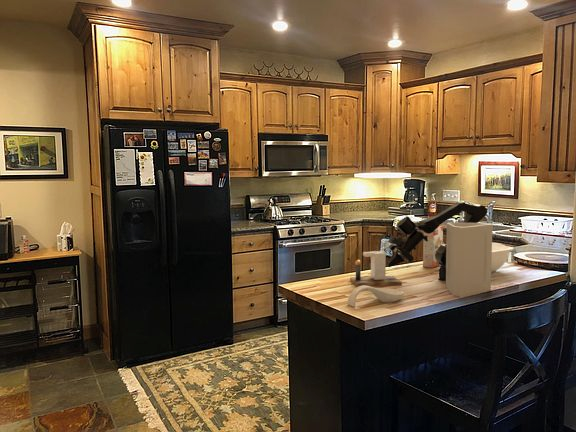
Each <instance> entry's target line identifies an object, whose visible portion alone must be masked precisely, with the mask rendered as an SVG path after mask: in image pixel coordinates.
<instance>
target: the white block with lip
mask: <svg viewBox="0 0 576 432" xmlns="http://www.w3.org/2000/svg"><path fill="white" fill-rule="evenodd" d="M386 255H387V254H386V252H384V251H382V250H374V251H373V250H372V251H371V250H370V251H363V252H362V256H364V257H365V258H368V257H370V277H371V278H373V279H374V280H385V276H386V268H387V267H386V266H387V265H386V264H387V263H386V260H387V258H386Z"/></svg>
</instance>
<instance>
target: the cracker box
mask: <svg viewBox="0 0 576 432" xmlns="http://www.w3.org/2000/svg"><path fill="white" fill-rule="evenodd" d="M423 234H424V235H427V236H428V237H427V239H428V242H426V241H424V240H423V241H422V242H423V248H422V249H423V250H422V267H423V268H430V269H434V268H435V267H438V266H440V265H439V263H438V261H437V260H436V259H435V254H436V252H435V251H436V250H438V248H439V247H438V246H439V245H443V243H444V242H443V240H444V239H443V238H444V236H443V235H444V226H443V225H439V227H438V228H437V229H436V230H435V231H434V232H432V233H430V234H428V233H424V232H423Z"/></svg>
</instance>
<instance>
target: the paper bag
mask: <svg viewBox="0 0 576 432" xmlns="http://www.w3.org/2000/svg"><path fill="white" fill-rule="evenodd" d="M492 243H493V223H488V222H487V223H485V222H483V223H482V222H478V223H463V222H447V223H446V244H447V247H446V281H445V288H446V289H447V290H448V292H450V294H451V295H453V296H454V297H455V296H456V297H460V298H465V297H469V296H472V295H478V294H481V293H487V292H490V291H492V272H491V263H492Z"/></svg>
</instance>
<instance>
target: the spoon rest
mask: <svg viewBox="0 0 576 432" xmlns="http://www.w3.org/2000/svg"><path fill="white" fill-rule="evenodd" d="M363 291H369V292H370V293H372V294H373V295H374V297H376V299H377V300H379V301H380V302H382V303H395V302H397V301H399V300H401V298H403V296H404V295H405V292H404V291H402V290H398V289H395V288H385V287H374V286H366V285H363V286H359V287H356V288H354V289H353V290H352V291H351V292H350V294H349V295H348V298H347V303H346V304H347V306H351V308H355V307H356V303H357V301H356V300H357V297H358V295H359V294H360V293H361V292H363Z"/></svg>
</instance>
